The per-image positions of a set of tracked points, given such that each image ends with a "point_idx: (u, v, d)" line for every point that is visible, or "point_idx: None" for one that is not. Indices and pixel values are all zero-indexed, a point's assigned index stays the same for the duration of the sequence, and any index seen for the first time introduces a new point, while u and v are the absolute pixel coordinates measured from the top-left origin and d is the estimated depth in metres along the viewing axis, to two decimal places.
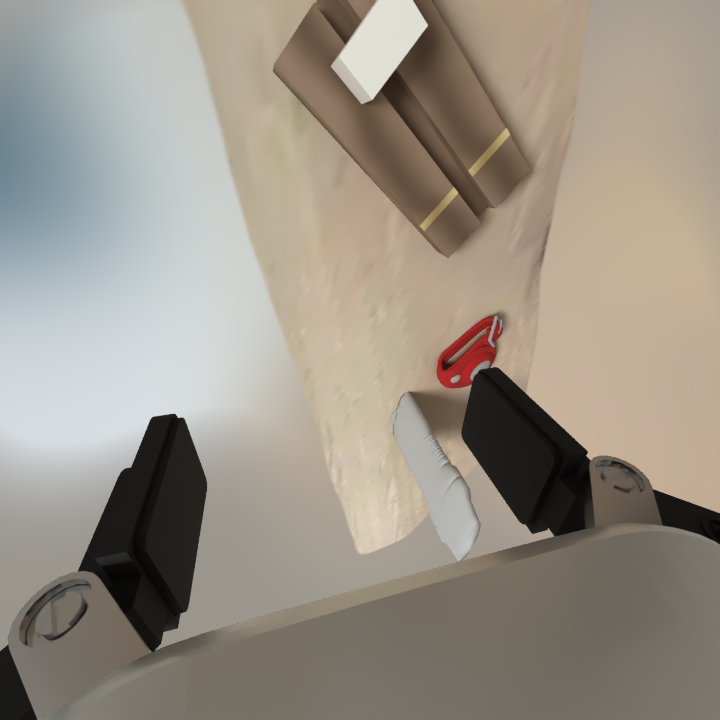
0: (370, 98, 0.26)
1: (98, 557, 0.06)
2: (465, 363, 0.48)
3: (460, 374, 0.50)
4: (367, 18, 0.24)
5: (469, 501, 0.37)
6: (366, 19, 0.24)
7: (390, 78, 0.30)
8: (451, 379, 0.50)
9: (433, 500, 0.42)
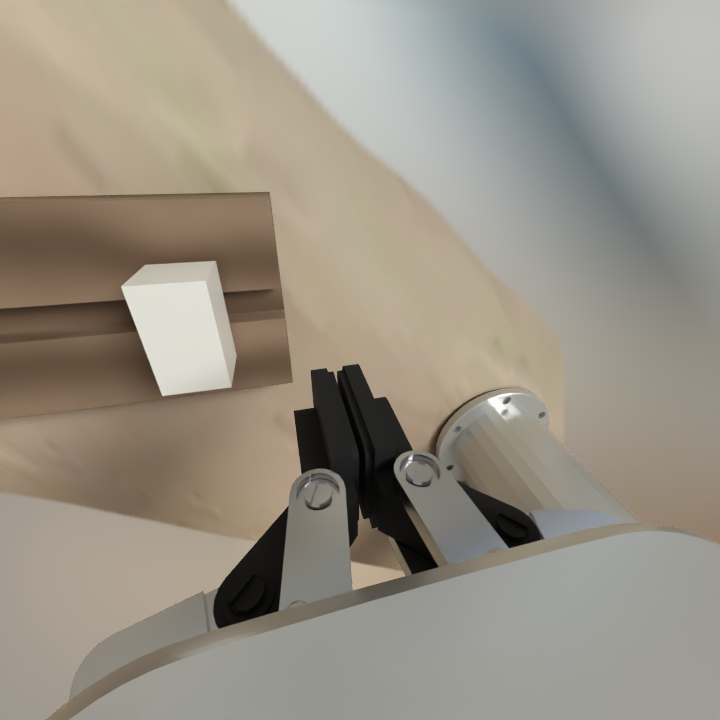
0: (126, 284, 0.15)
1: (332, 457, 0.08)
2: None
3: None
4: (217, 338, 0.17)
5: None
6: (217, 337, 0.17)
7: None
8: None
9: None
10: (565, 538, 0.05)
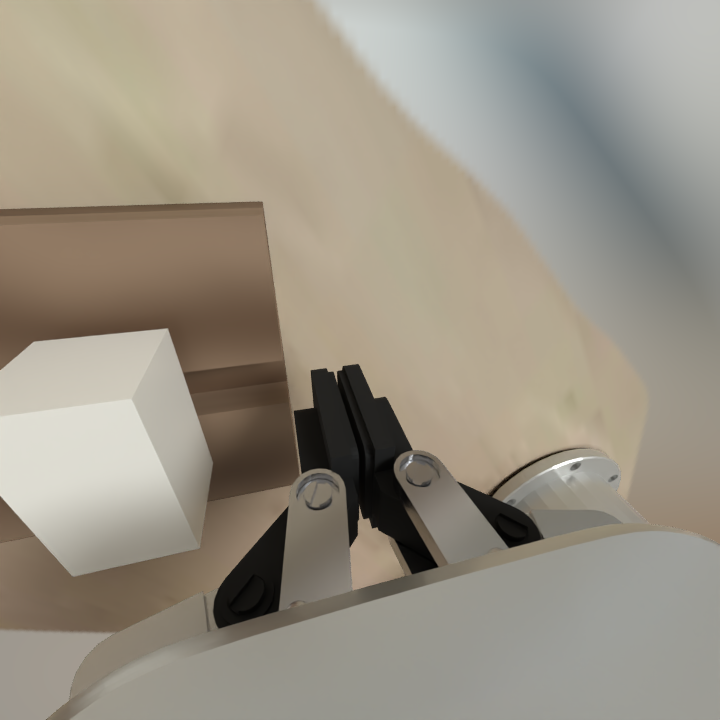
0: None
1: (333, 457, 0.08)
2: None
3: None
4: (167, 486, 0.09)
5: None
6: (167, 483, 0.09)
7: None
8: None
9: None
10: (565, 538, 0.05)
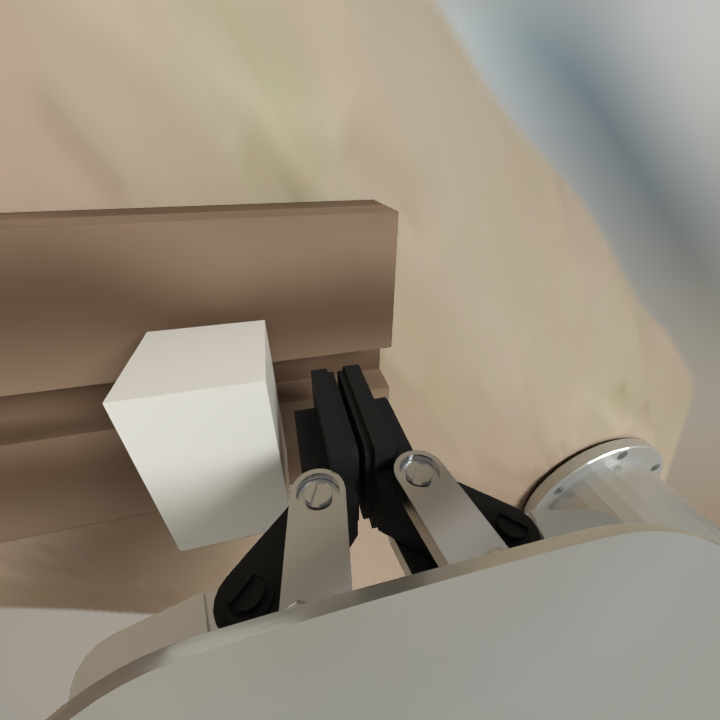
0: (113, 395, 0.08)
1: (332, 457, 0.08)
2: None
3: None
4: (278, 465, 0.10)
5: None
6: (278, 462, 0.10)
7: None
8: None
9: None
10: (565, 538, 0.05)
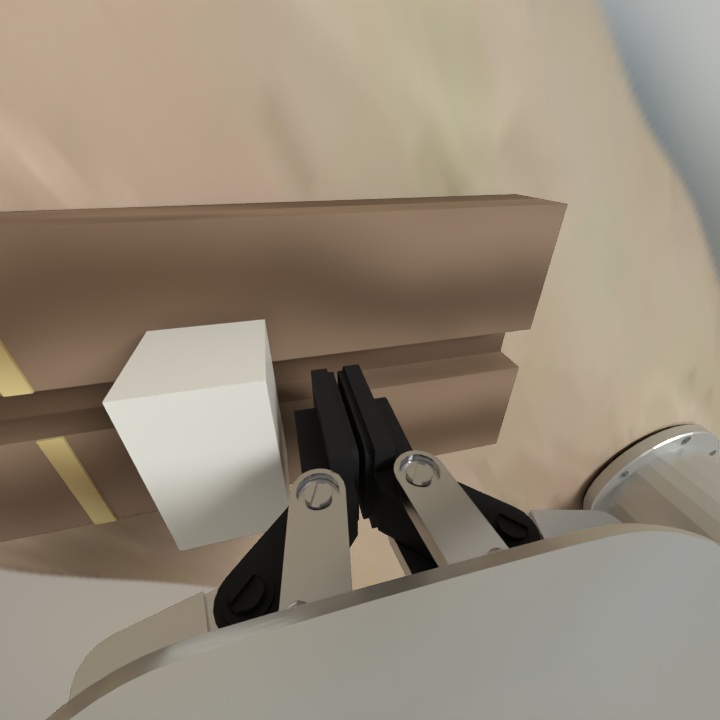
0: (113, 394, 0.08)
1: (332, 457, 0.08)
2: None
3: None
4: (277, 464, 0.10)
5: None
6: (278, 462, 0.10)
7: None
8: None
9: None
10: (565, 538, 0.05)
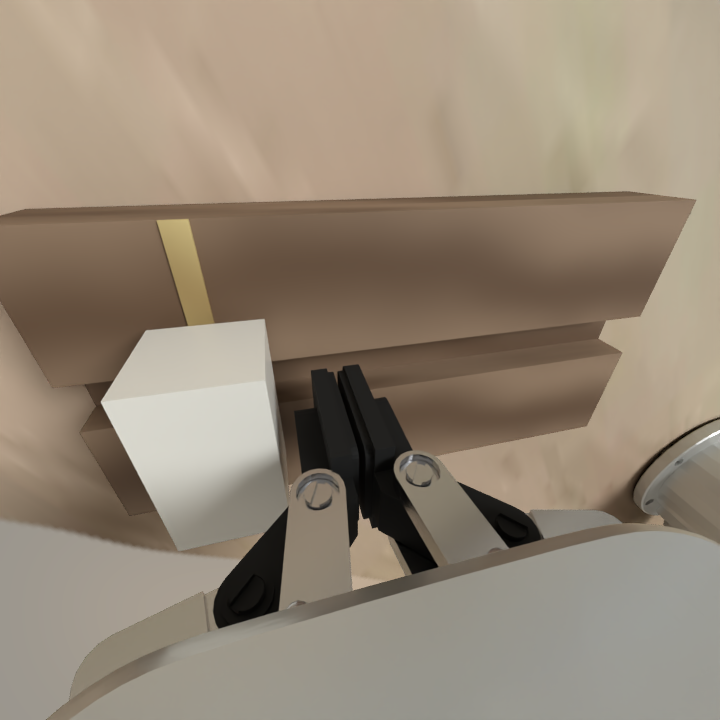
0: (111, 394, 0.08)
1: (333, 457, 0.08)
2: None
3: None
4: (277, 465, 0.10)
5: None
6: (277, 462, 0.10)
7: (470, 350, 0.17)
8: None
9: None
10: (565, 538, 0.05)
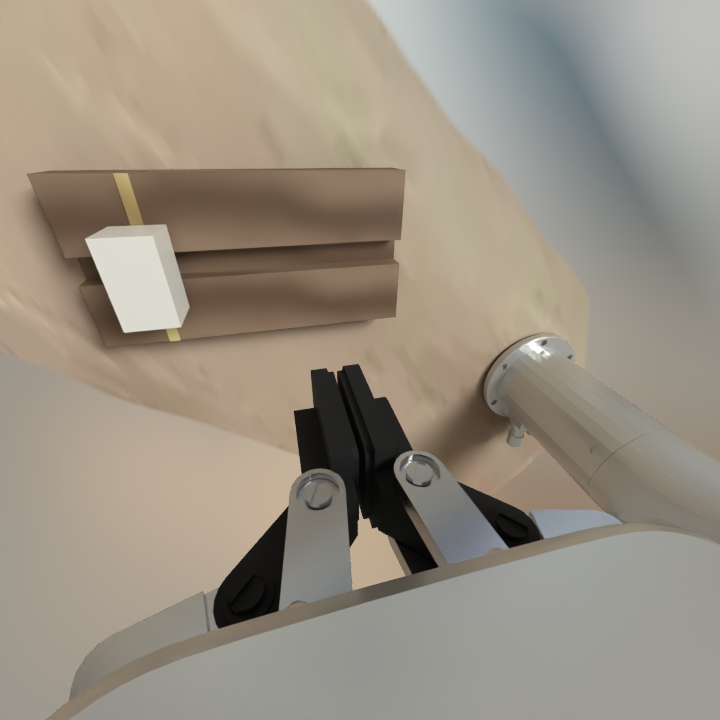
0: (89, 237, 0.19)
1: (333, 457, 0.08)
2: None
3: None
4: (166, 284, 0.21)
5: None
6: (166, 283, 0.21)
7: (306, 261, 0.28)
8: None
9: None
10: (565, 538, 0.05)
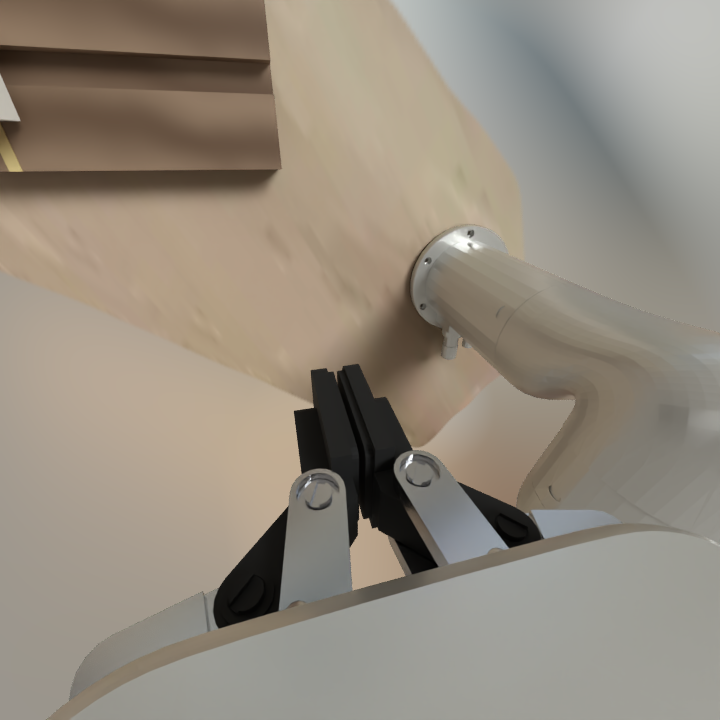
0: None
1: (333, 457, 0.08)
2: None
3: None
4: None
5: None
6: None
7: (168, 87, 0.25)
8: None
9: None
10: (565, 538, 0.05)
